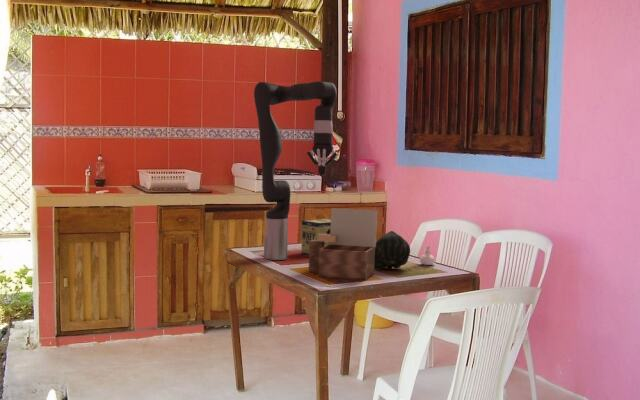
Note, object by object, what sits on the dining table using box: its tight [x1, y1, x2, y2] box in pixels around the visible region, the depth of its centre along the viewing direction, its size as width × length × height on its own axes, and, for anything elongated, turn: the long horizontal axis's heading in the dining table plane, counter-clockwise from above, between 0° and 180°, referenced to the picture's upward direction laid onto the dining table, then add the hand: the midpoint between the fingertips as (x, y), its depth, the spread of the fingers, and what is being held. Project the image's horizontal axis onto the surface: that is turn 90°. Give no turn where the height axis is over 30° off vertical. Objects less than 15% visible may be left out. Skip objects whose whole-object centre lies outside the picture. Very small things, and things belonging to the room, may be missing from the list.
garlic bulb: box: [419, 245, 436, 266], centre depth 297 cm, size 6×6×8 cm
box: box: [308, 240, 375, 281], centre depth 268 cm, size 24×14×12 cm, turn 73°
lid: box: [330, 207, 378, 247], centre depth 274 cm, size 18×14×1 cm
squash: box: [374, 230, 411, 270], centre depth 282 cm, size 14×15×15 cm
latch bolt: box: [318, 234, 338, 242], centre depth 271 cm, size 7×4×2 cm, turn 73°
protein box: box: [301, 218, 331, 256], centre depth 314 cm, size 10×16×16 cm
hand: (322, 175), depth 283 cm, fingers closed
